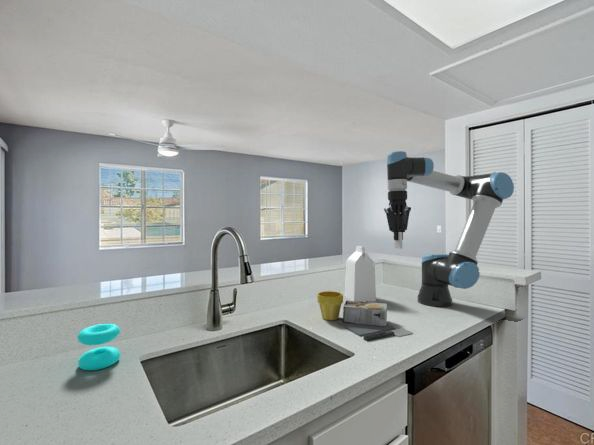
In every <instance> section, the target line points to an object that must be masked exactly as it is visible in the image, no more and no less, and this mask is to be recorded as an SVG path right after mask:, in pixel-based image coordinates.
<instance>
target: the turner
mask: <svg viewBox="0 0 594 445" xmlns="http://www.w3.org/2000/svg"><path fill="white" fill-rule="evenodd" d="M413 334H414V332H412V331H410V330H408V329H405V328H402V327H401V328H395V329H393V330H388V331H383V332H378V333H374V334H369V335H364V336H363V341H365V342H368V341H369V342H370V341H373V340H378V339H382V338H386V337H387V338H388V337H392V336H396V337H397V338H399V337H403V336H407V335H408V336H409V335H413Z"/></svg>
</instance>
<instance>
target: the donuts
mask: <svg viewBox="0 0 594 445" xmlns="http://www.w3.org/2000/svg"><path fill="white" fill-rule="evenodd" d="M120 331H121V329H120V327H119V326H118V325H117V324H114V323H100V324H93V325H91V326H87V327H85V328H83V329H82V330H81V331H80V332H78V334H77V340H78V342H79V343H81V344H82V345H86V346H98V345H99V347H96V348H91V349H90V350H87V351H86V352H84V353H83V354H81V356H80V357H79V359H78V361H77V365H78V367H79V368H80V369H81V370H84V371H99V370H103V369H105V368H108V367H111V366H113V365H114V364H116V363H117V362H118V361H119V359H120V358H121V353H120V350H119V349H118V348H117V347H114V346H100V345H103V344H107V343H110V342H111V341H113V340H114V339H116V338H117V337H118V336H119V335H120Z"/></svg>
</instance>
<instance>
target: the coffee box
mask: <svg viewBox="0 0 594 445" xmlns="http://www.w3.org/2000/svg"><path fill="white" fill-rule="evenodd" d="M387 317H388V304H387V303H383V302H382V303H380V302H373V301H368V302H359V301H351V300H345V303H344V304H343V311H342V321H343V322H346V323H356V324H366V325H376V326H386V325H387V324H388V323H387V319H388V318H387Z"/></svg>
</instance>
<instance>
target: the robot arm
mask: <svg viewBox="0 0 594 445" xmlns="http://www.w3.org/2000/svg"><path fill="white" fill-rule="evenodd" d="M386 158H387V159H386V166H387V167H386V170H387V190H388V192H387V200H388V202H389V203H388V206H387V207H384V208H383V211H384V213H385V214H386V220H387V225H388V228H389V232H391V233H393V240H394V249H403V240H404V233H406V231H407V230H408V225H409V218H410V212H411V211H412V207H410V206H408V204H407V202H406V201H407V200H408V191H407V189H408V182H410V183H413V184H417V185H421V186H425V187H430V188H432V189H433V188H434V189H437V190H441V191H446V192H449V193H450V194H451V195H453V196H457V197H461V198H464V199H467V200H471V201H472V200H473V204H472V207H471V210H470V212H469V214H468V217H467V219H466V222H465V223H464V227H463V229H462V232H461V234H460V236H459V239H458V240H457V244H456V246H455V249H454V250H451V251H450V252H449V253H448V254H447V253H446V254H445V253H441V254H435V253H434V254H433V253H432V254H424V255H422V257H421V286H420V289H419V291H418V294H417V302H418V303H419V304H423V305H427V306H431V307H440V308H441V307H443V308H445V307H450V306H452V305H453V298H452V296H451V292H450V290H449V286H452V287H453V288H456V289H461V290H462V289H464V290H465V289H467V290H468V289H469V288H471V287H474V286H475V284H477V283H478V281H479V278H480V275H481V274H480V273H481V272H480V269H479V266H478V263H479V262H478V259H477V255H478V253H479V250H480V247H481V245H482V242H483V240H484V238H485V235H486V233H487V230H488V227H489V225H490V223H491V220H492V217H493V215H494V213H495V210H496V209H497V208H499V207H501V206H502V203H503V201H504V200H507V199H509V198H510V197H512V196H513V194H514V190H515V186H514V185H515V184H514V182H513V179H512V178H511V176H510V175H509V174H508V173H505V172H502V171H500V172H496V171H495V172H492V173H484V174H478V175H470V176H469V175H468V176H466V175H465V176H464V175H459V174H458V175H457V174H456V175H451V174H448V173H443V172H440V171H436V170H434V166H435V165H434V161H433V159H431V158H429V157H424V156H423V157H408V155H407V152H406V151H402V150H401V151H399V150H398V151H392V152H389V153H388V154H387V156H386Z"/></svg>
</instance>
